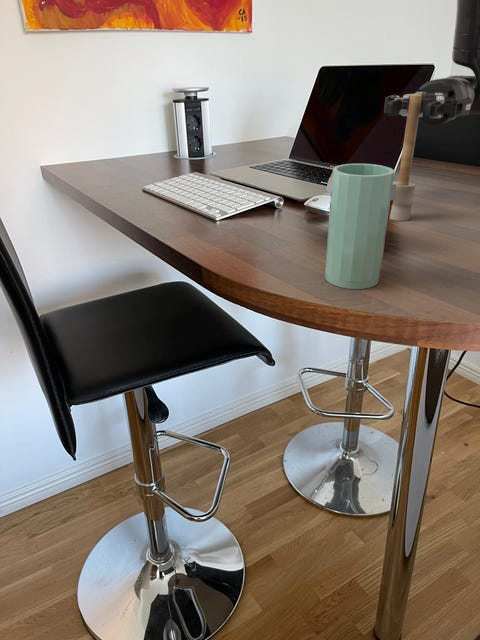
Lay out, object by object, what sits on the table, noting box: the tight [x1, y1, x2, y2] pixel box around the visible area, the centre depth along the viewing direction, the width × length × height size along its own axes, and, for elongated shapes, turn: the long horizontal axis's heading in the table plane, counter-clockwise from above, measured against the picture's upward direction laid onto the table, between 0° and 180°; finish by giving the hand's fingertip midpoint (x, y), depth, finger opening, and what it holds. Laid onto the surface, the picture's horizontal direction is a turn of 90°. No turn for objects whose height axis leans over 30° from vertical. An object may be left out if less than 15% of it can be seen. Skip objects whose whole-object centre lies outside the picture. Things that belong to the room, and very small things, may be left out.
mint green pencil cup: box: [324, 163, 395, 290], centre depth 62 cm, size 7×7×14 cm
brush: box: [389, 93, 422, 222], centre depth 84 cm, size 4×4×20 cm
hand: (408, 109), depth 78 cm, fingers open, 5 cm apart
